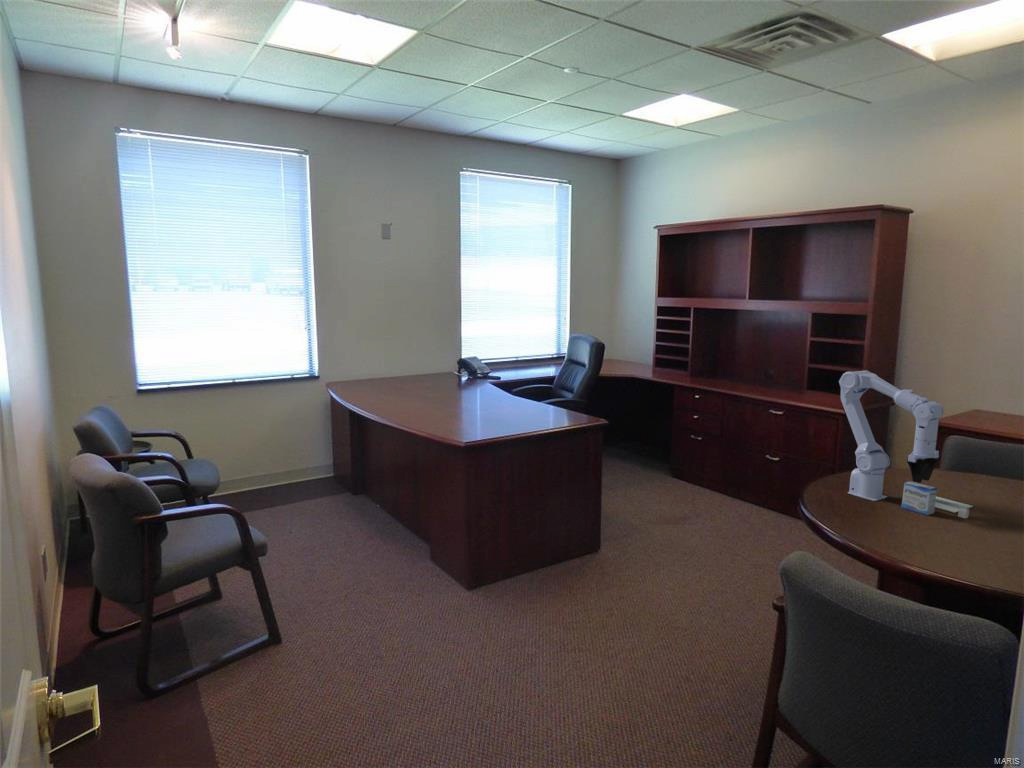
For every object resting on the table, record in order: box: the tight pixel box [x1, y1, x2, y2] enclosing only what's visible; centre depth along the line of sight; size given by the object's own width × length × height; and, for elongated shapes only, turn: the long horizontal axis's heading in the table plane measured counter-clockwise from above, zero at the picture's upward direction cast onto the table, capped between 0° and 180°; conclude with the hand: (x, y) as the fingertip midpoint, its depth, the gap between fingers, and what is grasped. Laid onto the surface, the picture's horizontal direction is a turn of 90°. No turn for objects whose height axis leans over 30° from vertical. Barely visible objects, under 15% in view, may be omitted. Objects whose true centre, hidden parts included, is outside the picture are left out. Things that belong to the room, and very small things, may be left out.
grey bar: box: [935, 498, 970, 510], centre depth 195 cm, size 18×1×1 cm, turn 30°
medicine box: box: [901, 481, 938, 516], centre depth 194 cm, size 8×4×9 cm, turn 30°
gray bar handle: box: [957, 509, 970, 519], centre depth 196 cm, size 18×2×2 cm, turn 30°
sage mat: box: [935, 495, 974, 514], centre depth 201 cm, size 14×12×1 cm
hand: (920, 480), depth 193 cm, fingers open, 4 cm apart
